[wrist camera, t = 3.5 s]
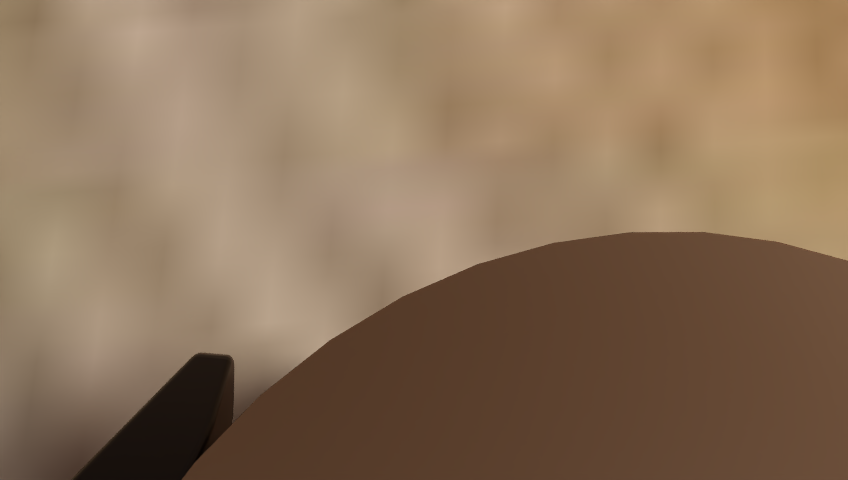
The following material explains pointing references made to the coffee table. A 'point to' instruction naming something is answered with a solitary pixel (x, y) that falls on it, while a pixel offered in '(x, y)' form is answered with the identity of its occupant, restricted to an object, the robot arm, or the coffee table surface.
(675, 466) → the tall walnut pin
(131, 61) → the coffee table surface
